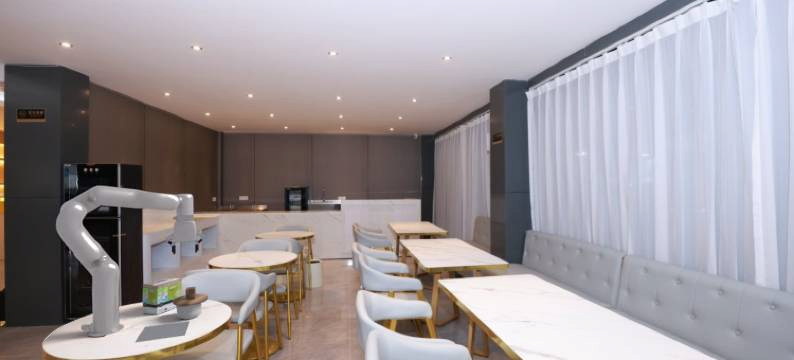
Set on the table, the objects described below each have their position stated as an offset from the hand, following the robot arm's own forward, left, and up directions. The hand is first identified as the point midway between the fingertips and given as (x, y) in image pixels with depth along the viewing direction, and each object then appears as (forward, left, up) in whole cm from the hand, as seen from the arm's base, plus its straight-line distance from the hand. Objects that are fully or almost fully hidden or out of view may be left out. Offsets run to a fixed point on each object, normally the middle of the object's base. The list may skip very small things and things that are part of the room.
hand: (185, 253), depth 197 cm
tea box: (-12, +12, -31) cm, 35 cm away
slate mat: (-6, -23, -30) cm, 39 cm away
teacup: (+3, -6, -31) cm, 31 cm away
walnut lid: (+3, -6, -22) cm, 23 cm away
